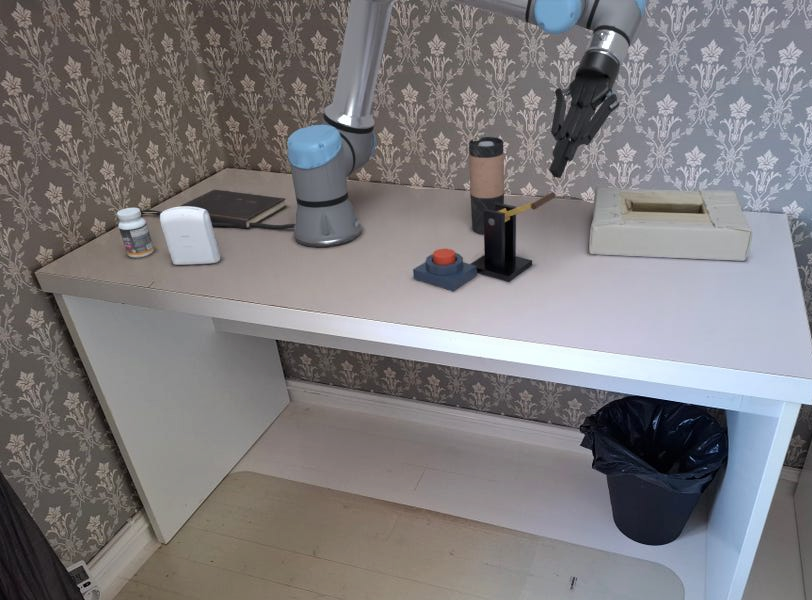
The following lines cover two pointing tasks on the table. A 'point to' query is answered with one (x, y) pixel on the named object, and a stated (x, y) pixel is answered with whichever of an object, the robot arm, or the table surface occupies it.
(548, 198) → the tap lever
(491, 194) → the travel mug
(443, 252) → the red button
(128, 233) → the pill bottle
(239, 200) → the hardcover book
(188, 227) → the photo printer
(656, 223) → the box
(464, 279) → the button box
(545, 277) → the table surface
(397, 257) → the table surface
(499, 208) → the tap bracket
